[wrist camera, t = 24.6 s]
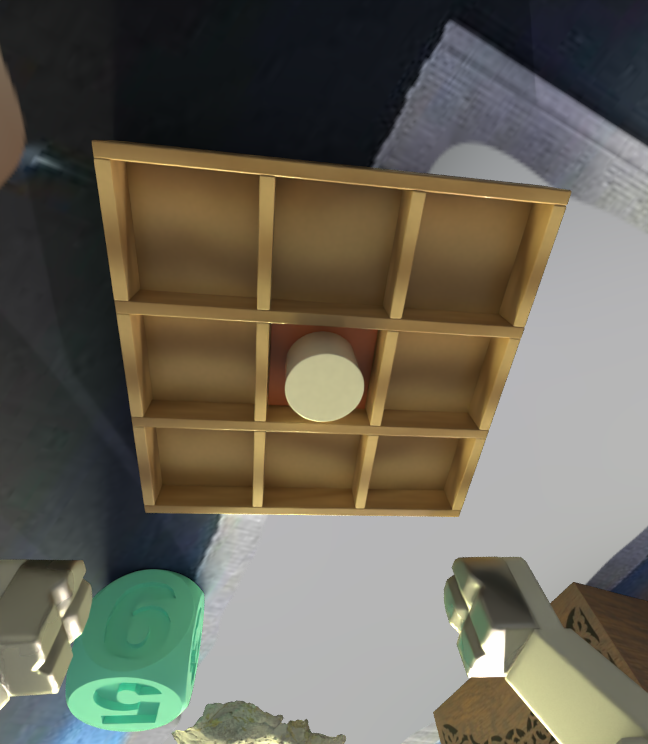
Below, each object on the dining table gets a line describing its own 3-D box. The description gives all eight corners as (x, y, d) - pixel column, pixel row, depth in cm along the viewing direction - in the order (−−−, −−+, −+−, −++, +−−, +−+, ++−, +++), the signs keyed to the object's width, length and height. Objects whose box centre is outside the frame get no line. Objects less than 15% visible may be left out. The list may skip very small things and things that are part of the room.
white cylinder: (287, 328, 24) (286, 351, 22) (361, 333, 25) (369, 355, 22) (283, 393, 26) (282, 420, 24) (351, 396, 27) (358, 423, 24)
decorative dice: (113, 624, 38) (73, 734, 31) (104, 566, 34) (56, 675, 27) (204, 625, 39) (186, 731, 32) (205, 568, 35) (184, 675, 28)
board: (113, 140, 20) (90, 139, 18) (544, 185, 22) (572, 190, 20) (155, 485, 30) (144, 513, 28) (447, 491, 33) (459, 517, 30)
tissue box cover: (573, 581, 40) (653, 705, 31) (679, 609, 43) (777, 727, 35) (433, 712, 50) (463, 832, 42) (527, 726, 54) (573, 838, 45)
